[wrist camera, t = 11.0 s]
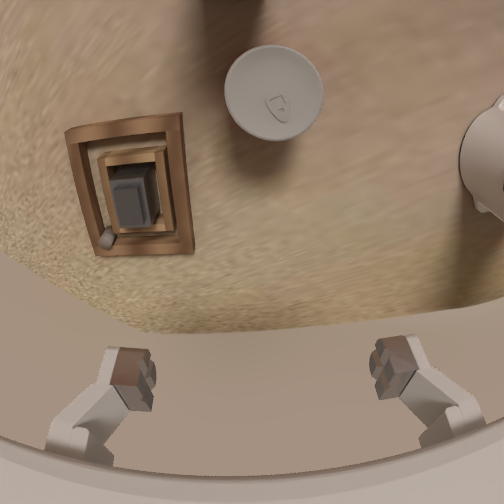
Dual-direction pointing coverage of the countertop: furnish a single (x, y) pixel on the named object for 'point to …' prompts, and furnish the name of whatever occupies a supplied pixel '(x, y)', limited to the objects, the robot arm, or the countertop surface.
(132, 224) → the grey block
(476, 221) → the countertop surface
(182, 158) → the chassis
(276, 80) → the canned food
